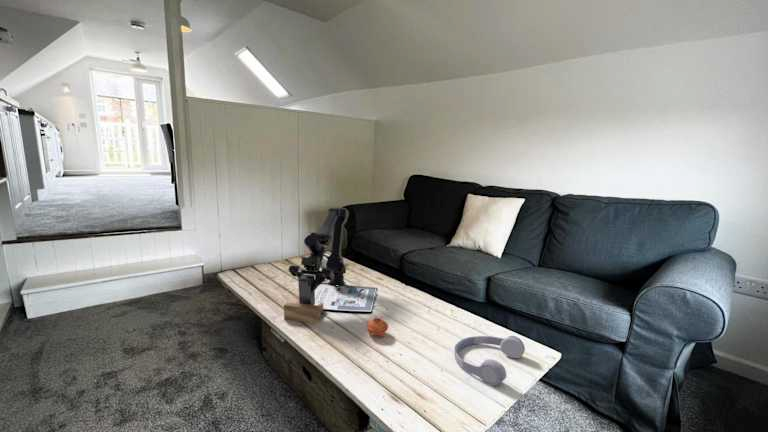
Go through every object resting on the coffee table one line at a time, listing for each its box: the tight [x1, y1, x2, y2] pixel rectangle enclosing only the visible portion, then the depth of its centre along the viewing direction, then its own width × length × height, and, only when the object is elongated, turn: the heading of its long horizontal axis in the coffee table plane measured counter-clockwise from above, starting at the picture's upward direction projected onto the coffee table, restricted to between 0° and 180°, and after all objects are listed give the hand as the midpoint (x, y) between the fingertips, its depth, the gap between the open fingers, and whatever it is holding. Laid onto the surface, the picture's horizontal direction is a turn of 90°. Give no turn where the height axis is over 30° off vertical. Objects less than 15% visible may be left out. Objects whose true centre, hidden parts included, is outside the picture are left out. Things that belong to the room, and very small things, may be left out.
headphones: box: [454, 335, 526, 387], centre depth 113 cm, size 22×7×20 cm
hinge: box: [321, 253, 330, 269], centre depth 199 cm, size 17×5×10 cm, turn 38°
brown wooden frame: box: [283, 301, 324, 324], centre depth 141 cm, size 11×14×6 cm
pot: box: [366, 317, 389, 339], centre depth 127 cm, size 8×8×7 cm
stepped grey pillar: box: [298, 274, 316, 305], centre depth 140 cm, size 5×5×12 cm
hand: (305, 291), depth 139 cm, fingers closed on stepped grey pillar, 5 cm apart
